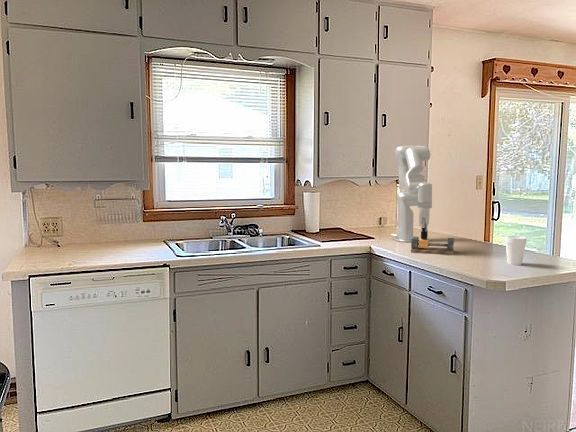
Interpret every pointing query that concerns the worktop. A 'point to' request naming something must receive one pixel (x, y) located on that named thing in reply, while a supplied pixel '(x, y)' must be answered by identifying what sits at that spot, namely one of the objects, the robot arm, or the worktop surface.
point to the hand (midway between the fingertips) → (424, 237)
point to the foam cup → (515, 249)
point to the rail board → (433, 250)
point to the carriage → (423, 243)
